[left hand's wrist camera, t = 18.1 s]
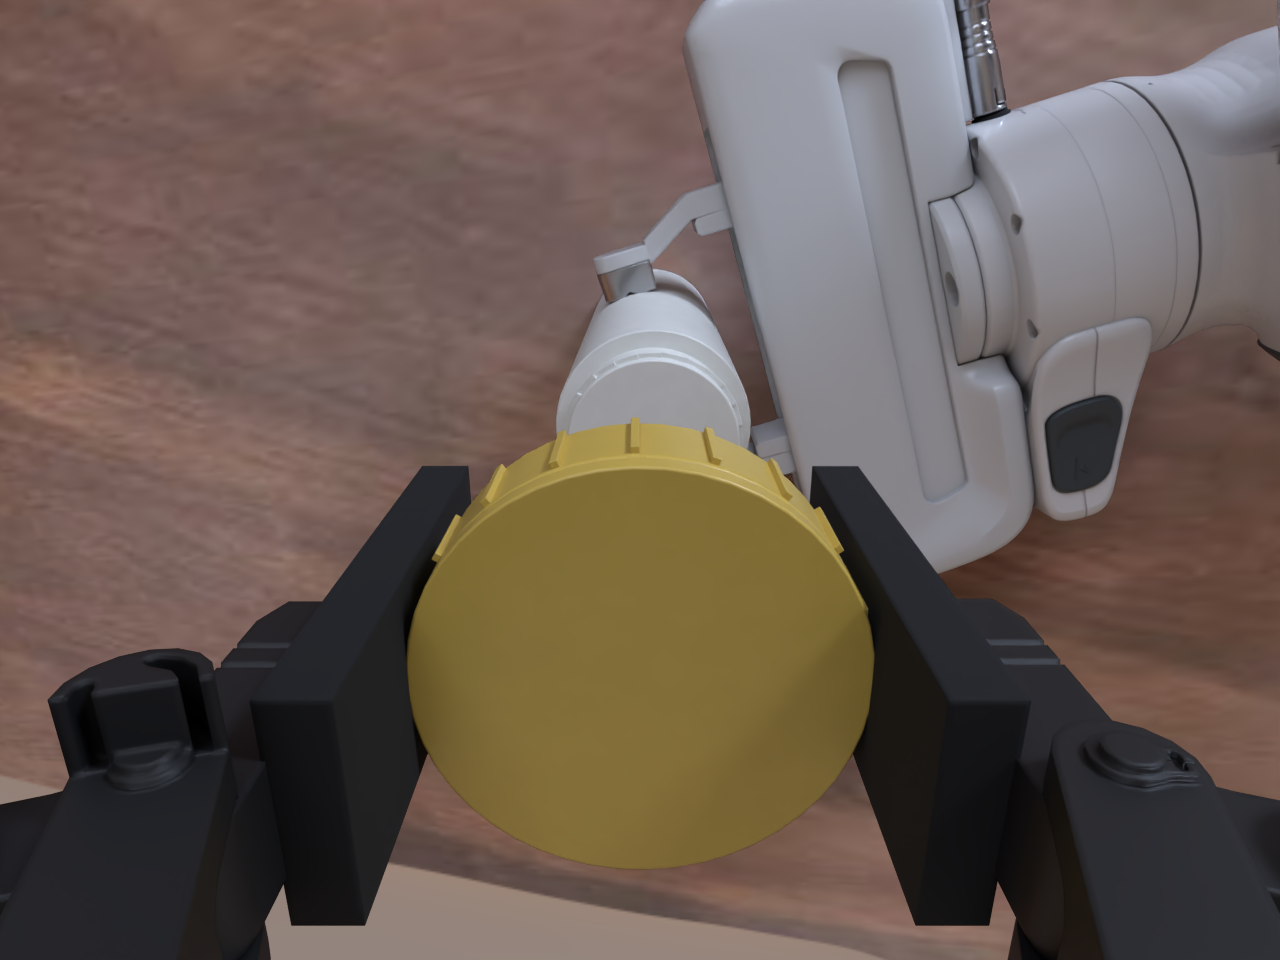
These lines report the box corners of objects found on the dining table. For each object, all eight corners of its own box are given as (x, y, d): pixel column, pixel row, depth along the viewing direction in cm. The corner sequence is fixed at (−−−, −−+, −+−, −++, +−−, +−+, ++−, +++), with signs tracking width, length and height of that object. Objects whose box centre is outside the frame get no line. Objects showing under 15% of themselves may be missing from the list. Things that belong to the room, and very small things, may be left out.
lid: (345, 588, 12) (296, 658, 10) (673, 322, 10) (680, 351, 9) (612, 843, 13) (608, 941, 12) (927, 640, 12) (973, 715, 10)
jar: (732, 303, 35) (797, 401, 20) (676, 407, 37) (696, 573, 21) (625, 247, 34) (605, 302, 19) (572, 355, 36) (515, 488, 20)
